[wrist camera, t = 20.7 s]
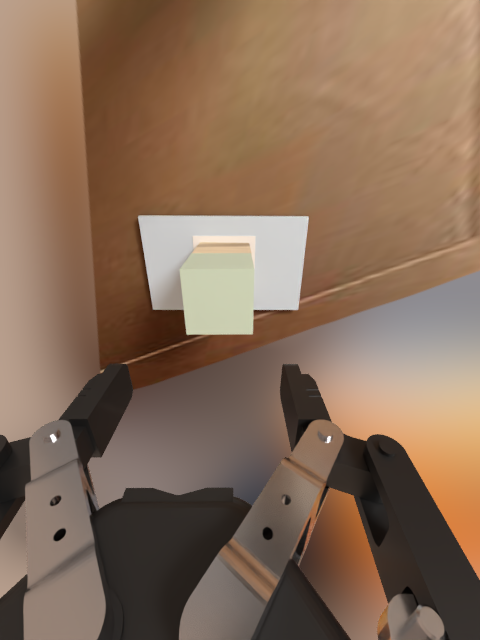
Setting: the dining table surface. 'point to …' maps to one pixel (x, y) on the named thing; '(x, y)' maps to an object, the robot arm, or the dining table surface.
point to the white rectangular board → (259, 231)
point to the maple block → (222, 247)
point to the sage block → (218, 293)
